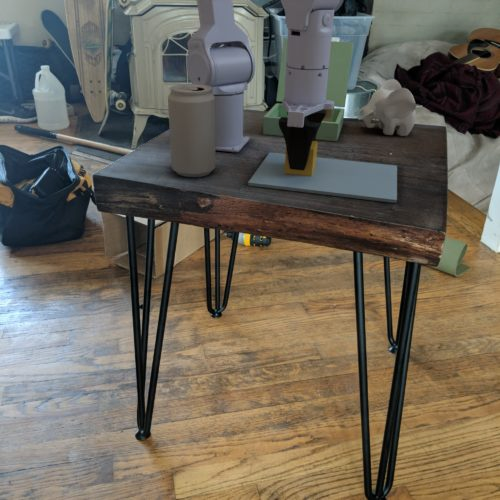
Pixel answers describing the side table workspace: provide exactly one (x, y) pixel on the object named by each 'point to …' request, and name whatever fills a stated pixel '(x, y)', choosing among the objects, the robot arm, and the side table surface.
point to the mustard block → (309, 166)
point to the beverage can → (192, 129)
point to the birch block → (329, 115)
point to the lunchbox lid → (336, 73)
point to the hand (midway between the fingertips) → (299, 164)
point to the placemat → (331, 178)
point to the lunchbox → (325, 130)
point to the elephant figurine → (391, 109)
